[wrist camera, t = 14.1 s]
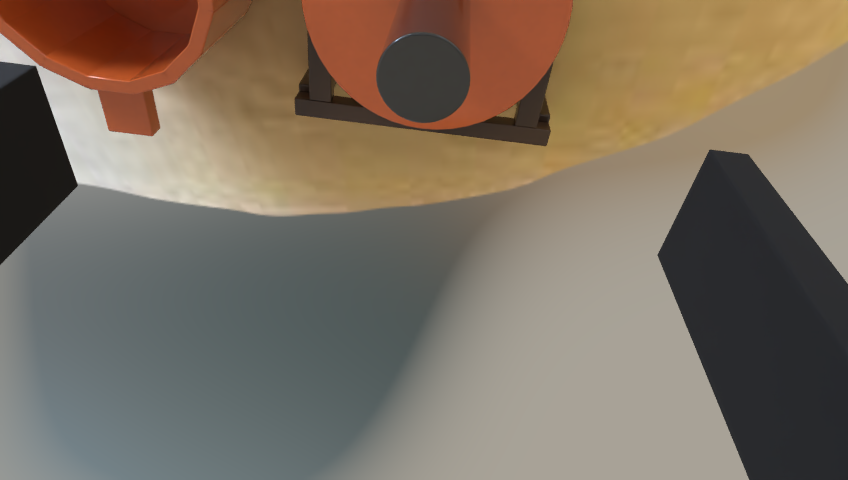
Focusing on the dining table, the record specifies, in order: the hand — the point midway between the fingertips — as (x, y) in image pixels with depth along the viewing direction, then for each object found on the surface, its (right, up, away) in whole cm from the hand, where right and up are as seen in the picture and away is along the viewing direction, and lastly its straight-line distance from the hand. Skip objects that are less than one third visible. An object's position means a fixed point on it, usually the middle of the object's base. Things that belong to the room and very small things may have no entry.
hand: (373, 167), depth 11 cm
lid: (+2, +10, +14) cm, 17 cm away
